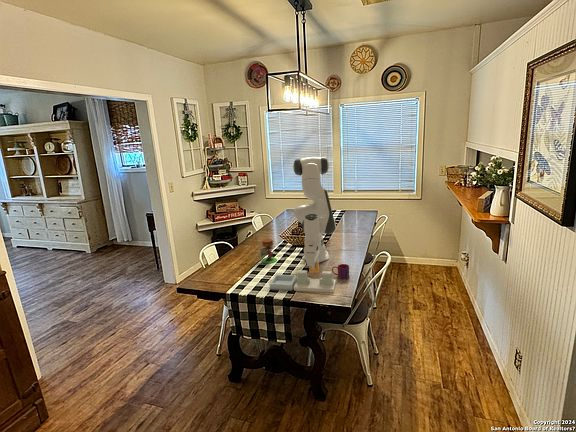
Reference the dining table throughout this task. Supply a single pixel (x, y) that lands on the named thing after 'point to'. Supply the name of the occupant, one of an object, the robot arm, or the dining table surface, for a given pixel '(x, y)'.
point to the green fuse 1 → (302, 276)
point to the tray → (283, 282)
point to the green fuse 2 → (327, 277)
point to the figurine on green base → (267, 251)
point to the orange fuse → (315, 267)
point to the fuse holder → (315, 286)
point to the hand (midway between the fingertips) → (314, 267)
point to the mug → (342, 271)
